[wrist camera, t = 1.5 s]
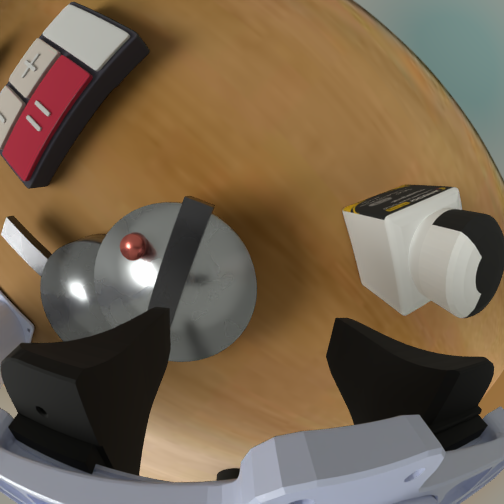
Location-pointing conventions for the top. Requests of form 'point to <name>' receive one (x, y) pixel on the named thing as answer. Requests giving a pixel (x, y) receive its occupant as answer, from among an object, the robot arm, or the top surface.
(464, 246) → the medicine bottle
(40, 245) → the pot
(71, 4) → the calculator
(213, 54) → the top surface
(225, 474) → the drinking cup
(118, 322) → the lid
